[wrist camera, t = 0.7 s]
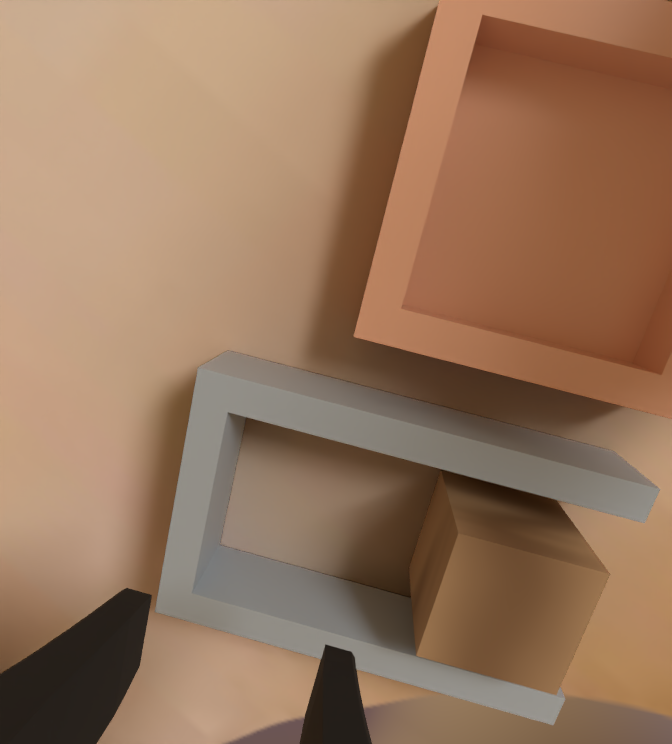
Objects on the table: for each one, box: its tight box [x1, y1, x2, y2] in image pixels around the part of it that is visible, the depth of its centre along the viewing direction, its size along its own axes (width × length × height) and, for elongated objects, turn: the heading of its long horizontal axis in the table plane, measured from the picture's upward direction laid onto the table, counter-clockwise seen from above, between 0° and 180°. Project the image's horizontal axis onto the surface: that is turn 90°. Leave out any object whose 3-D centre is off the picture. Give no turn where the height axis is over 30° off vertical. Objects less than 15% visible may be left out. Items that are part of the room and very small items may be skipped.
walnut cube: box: [409, 470, 610, 695], centre depth 17 cm, size 4×4×4 cm
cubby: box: [155, 350, 660, 725], centre depth 17 cm, size 15×9×3 cm, turn 77°
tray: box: [353, 0, 672, 419], centre depth 15 cm, size 10×10×2 cm
